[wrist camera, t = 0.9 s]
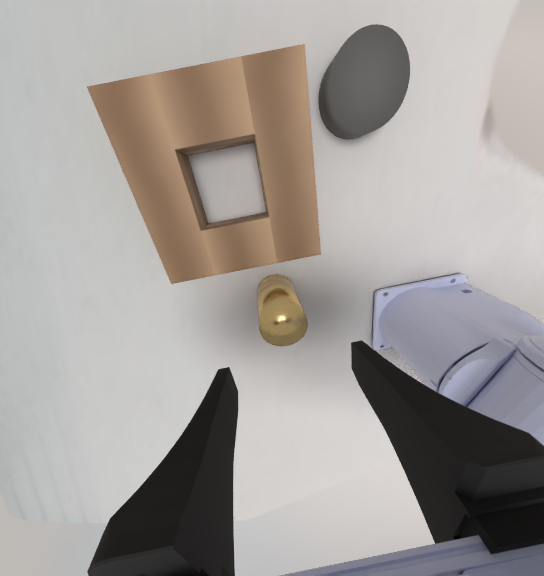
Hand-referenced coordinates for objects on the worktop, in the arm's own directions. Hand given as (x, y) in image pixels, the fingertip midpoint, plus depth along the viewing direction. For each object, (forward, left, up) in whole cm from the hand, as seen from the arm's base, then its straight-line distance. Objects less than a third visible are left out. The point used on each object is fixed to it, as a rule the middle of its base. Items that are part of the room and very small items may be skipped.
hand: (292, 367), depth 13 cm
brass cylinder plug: (0, 0, -10) cm, 10 cm away
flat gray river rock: (-8, -14, -10) cm, 19 cm away
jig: (+2, -10, -10) cm, 14 cm away
